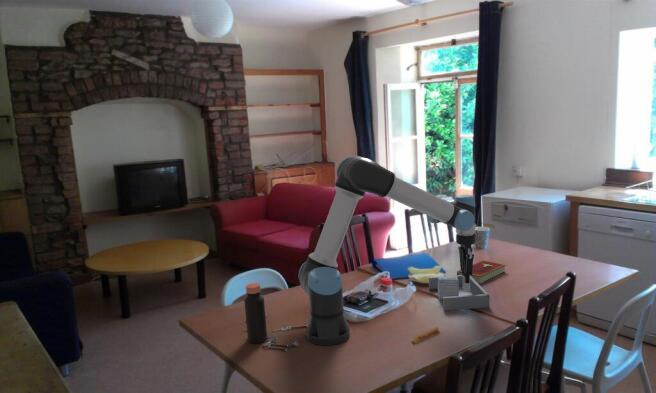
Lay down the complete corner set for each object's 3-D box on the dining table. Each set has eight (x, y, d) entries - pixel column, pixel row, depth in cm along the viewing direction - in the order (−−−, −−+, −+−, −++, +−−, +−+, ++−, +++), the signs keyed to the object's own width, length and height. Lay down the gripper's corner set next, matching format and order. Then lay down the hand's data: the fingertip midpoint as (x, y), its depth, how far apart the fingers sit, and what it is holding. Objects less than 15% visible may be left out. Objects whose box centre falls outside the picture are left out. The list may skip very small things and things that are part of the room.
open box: (489, 307, 190) (489, 295, 190) (444, 310, 190) (443, 298, 189) (469, 285, 214) (469, 274, 214) (429, 288, 214) (428, 277, 213)
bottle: (258, 333, 179) (253, 280, 176) (271, 338, 175) (266, 284, 172) (243, 340, 174) (238, 286, 171) (257, 345, 170) (252, 290, 167)
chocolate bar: (440, 334, 172) (440, 327, 171) (416, 345, 165) (416, 338, 164) (434, 331, 174) (434, 325, 173) (410, 342, 167) (410, 336, 166)
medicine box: (457, 295, 204) (456, 275, 202) (459, 300, 199) (458, 279, 198) (437, 296, 205) (437, 276, 203) (439, 300, 200) (438, 279, 199)
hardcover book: (456, 279, 225) (456, 270, 224) (482, 267, 238) (482, 259, 237) (480, 285, 216) (480, 275, 215) (505, 273, 229) (505, 264, 228)
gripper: (480, 236, 191) (480, 294, 195) (469, 229, 204) (470, 283, 208) (461, 238, 191) (462, 296, 195) (451, 230, 204) (452, 284, 208)
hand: (466, 289), depth 202 cm, fingers closed
